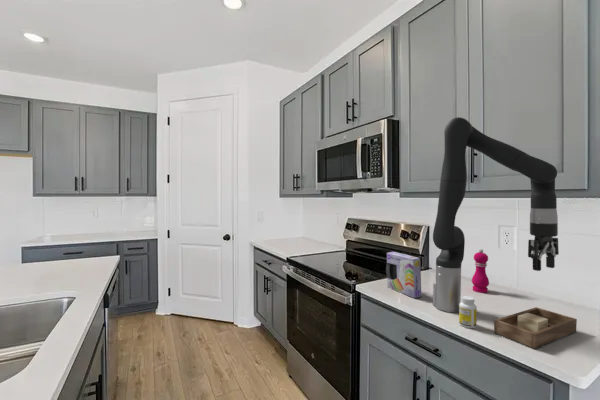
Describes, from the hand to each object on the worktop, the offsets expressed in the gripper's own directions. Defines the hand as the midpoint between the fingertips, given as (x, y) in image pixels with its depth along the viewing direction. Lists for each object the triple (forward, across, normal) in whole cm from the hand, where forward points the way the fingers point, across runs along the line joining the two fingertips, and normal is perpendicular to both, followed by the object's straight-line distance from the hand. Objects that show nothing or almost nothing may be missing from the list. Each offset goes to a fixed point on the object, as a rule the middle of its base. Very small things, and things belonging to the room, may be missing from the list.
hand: (543, 269), depth 107 cm
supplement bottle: (+20, +21, -14) cm, 32 cm away
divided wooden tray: (+21, +6, 0) cm, 21 cm away
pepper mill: (+20, -21, -36) cm, 46 cm away
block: (+19, +8, 0) cm, 20 cm away
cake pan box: (+20, +14, -51) cm, 56 cm away
